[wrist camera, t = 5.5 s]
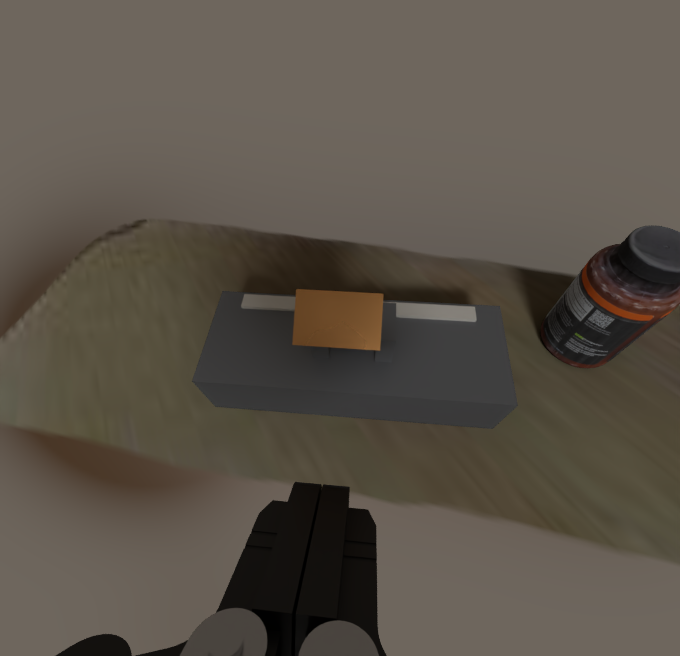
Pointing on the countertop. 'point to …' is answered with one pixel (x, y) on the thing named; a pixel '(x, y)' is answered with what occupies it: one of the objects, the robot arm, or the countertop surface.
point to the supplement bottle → (616, 298)
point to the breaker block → (361, 364)
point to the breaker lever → (338, 319)
